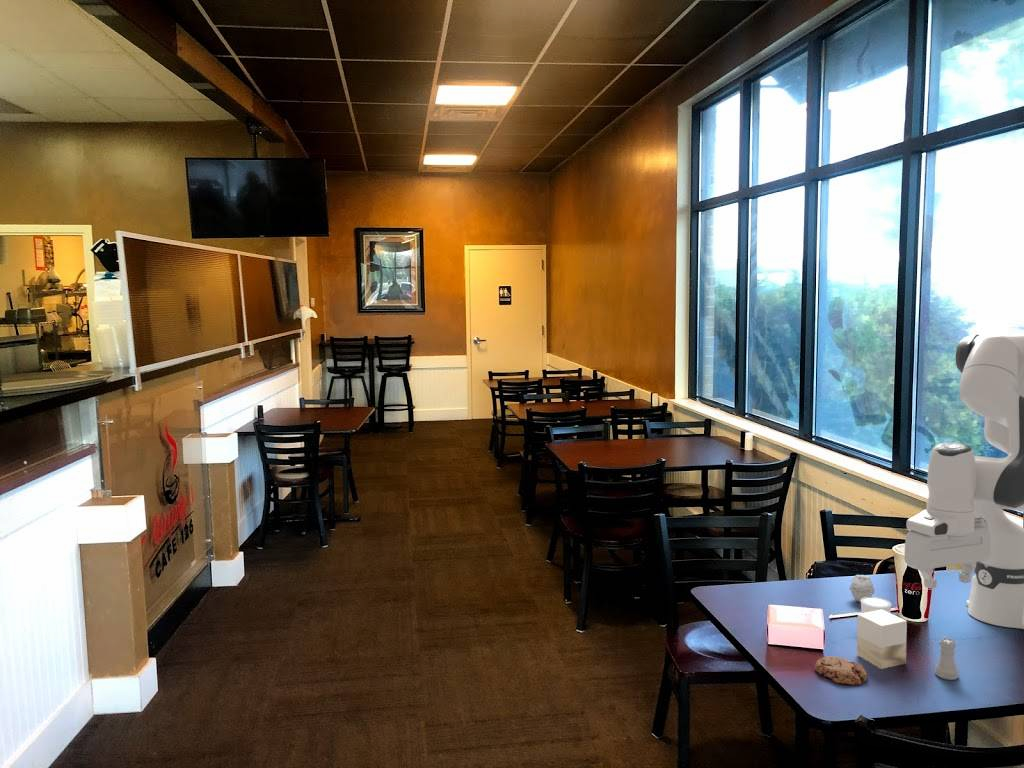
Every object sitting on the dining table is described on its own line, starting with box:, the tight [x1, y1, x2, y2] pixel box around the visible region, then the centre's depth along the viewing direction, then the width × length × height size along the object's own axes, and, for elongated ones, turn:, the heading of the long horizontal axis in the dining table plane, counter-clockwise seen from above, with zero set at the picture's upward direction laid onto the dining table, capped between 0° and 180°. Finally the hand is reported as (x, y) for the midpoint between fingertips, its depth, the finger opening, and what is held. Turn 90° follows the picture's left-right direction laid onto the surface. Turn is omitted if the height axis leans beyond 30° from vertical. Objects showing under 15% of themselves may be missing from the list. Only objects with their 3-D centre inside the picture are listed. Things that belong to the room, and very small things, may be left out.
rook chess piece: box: [934, 637, 960, 681], centre depth 162 cm, size 4×4×8 cm
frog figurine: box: [849, 574, 875, 603], centre depth 203 cm, size 6×7×7 cm
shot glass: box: [860, 596, 892, 613], centre depth 186 cm, size 7×7×7 cm
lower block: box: [856, 636, 907, 670], centre depth 170 cm, size 7×7×5 cm
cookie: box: [814, 656, 868, 686], centre depth 164 cm, size 10×11×3 cm
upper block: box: [856, 609, 908, 648], centre depth 170 cm, size 7×7×5 cm
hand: (947, 584), depth 161 cm, fingers open, 8 cm apart
